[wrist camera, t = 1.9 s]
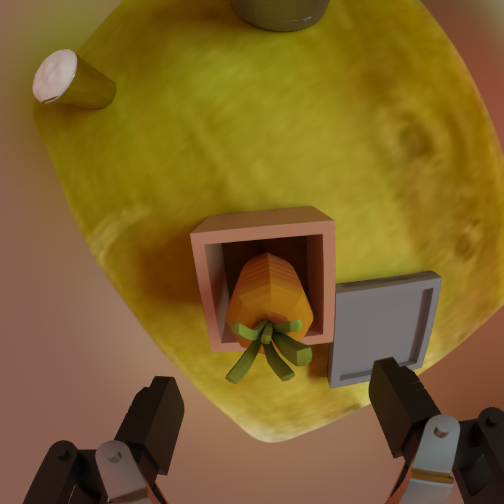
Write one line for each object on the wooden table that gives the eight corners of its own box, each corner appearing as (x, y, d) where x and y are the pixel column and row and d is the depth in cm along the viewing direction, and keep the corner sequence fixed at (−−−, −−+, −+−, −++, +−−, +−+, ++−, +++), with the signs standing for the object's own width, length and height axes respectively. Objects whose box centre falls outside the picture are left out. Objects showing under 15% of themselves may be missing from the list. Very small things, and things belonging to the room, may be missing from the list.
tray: (330, 284, 25) (336, 293, 23) (432, 270, 25) (442, 277, 23) (326, 376, 29) (330, 388, 27) (414, 358, 28) (421, 367, 26)
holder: (209, 216, 24) (190, 233, 17) (313, 206, 23) (334, 220, 17) (223, 308, 26) (212, 352, 20) (316, 300, 26) (333, 341, 19)
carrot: (239, 286, 26) (219, 411, 11) (237, 234, 24) (207, 325, 10) (292, 285, 25) (324, 408, 11) (293, 233, 24) (341, 322, 10)
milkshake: (91, 129, 21) (21, 120, 12) (82, 87, 20) (19, 66, 10) (128, 108, 21) (63, 84, 11) (118, 66, 19) (59, 31, 10)
